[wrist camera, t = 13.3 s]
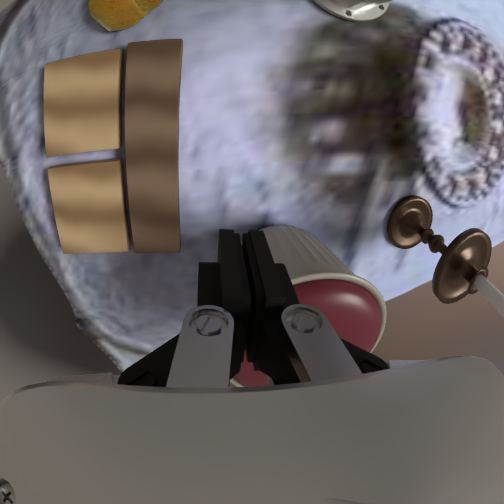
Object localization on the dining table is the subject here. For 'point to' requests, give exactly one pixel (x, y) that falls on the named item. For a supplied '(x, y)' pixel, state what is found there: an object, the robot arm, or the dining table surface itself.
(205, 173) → the dining table surface
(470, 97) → the dining table surface
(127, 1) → the bread roll
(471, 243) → the candlestick
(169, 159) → the walnut floor strip
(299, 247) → the canister
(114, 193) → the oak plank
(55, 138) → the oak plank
